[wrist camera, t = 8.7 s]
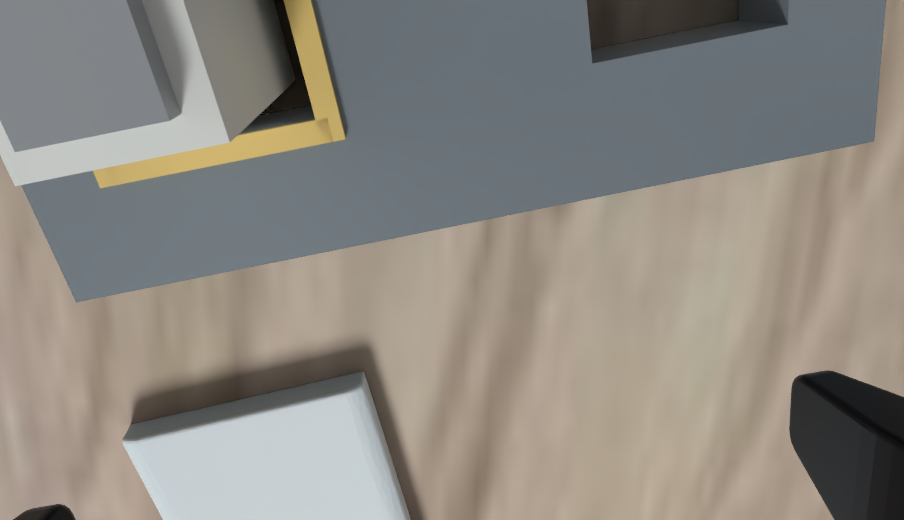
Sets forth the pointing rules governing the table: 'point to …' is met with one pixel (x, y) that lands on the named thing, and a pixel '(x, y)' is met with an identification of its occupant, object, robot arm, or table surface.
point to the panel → (468, 130)
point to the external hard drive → (272, 457)
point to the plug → (131, 79)
